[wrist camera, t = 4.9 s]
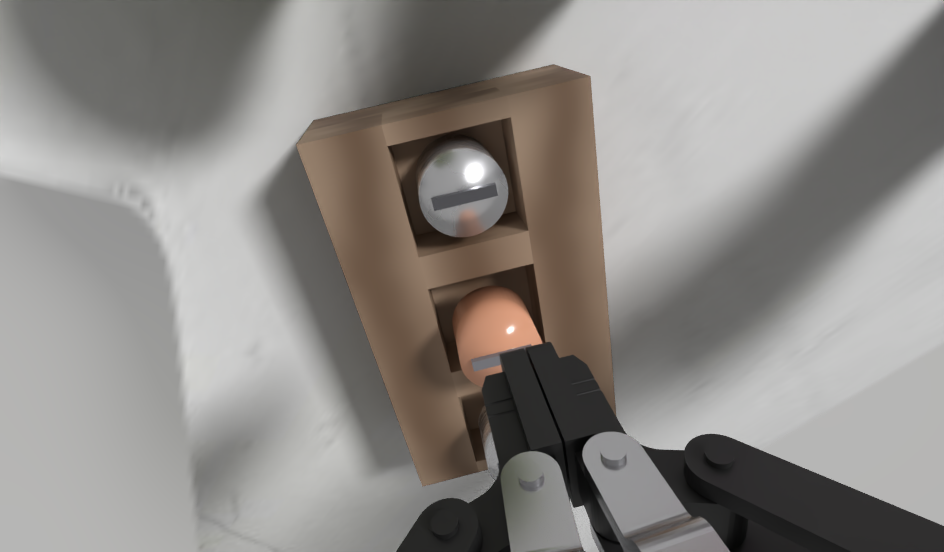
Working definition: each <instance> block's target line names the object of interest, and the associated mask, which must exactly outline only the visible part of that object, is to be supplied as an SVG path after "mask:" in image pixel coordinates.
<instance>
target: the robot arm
mask: <svg viewBox="0 0 944 552" xmlns="http://www.w3.org/2000/svg"><path fill="white" fill-rule="evenodd" d="M499 357H500V362H501V367H502V372H500V373H496V374H492V375H488V376H486V377H485V380H484V384H483V387H482V394H483V399H484V403H485V407H486V412H487V416H488V420H489V425H490V429H491V433H492V437H493V441H494V445H495V450H496V454H497V458H498V462H499V473H498V476H497V479H496V481H495V482H494V484H493V485H492V487H491V488H490V489H489V490H488V491H487V492H486V493H484V494H483V495H481V496H480V497H478V498H477V499H475V500H473V501H472V502H470V503H467V502H465V501H463V500H460V499H455V498H447V499H442V500H439V501H437V502H435V503H433V504H431V505H430V506H429V507H427V508H426V509H425V510H424V511H423V512H422V514H421V515H420V516H419V518H418V519H417V521H416V522H415V524H414V525H413V527H412V528H411V530H410V531H409V533H408V534H407V536H406V537H405V539H404V541H403V542H402V544H401V545H400V547H399V548H398V550H397V551H396V552H585V551H584V550H583V547H582V544H581V541H580V537H579V533H578V530H577V526H576V523H575V519H574V515H573V512H572V508H571V504H570V499H571V502H572V505H573V507H574V508H575V507H579V506H583V505H584V507H585V509H586V512H587V514H588V517H589V520H590V529H591V534H592V537H593V539H594V541H595V543H596V546H597V548H598V550H599V552H944V526H942V525H940V524H937V523H935V522H933V521H930V520H928V519H925V518H923V517H921V516H918V515H916V514H913V513H911V512H908V511H906V510H903V509H901V508H899V507H896V506H894V505H891V504H889V503H887V502H884V501H882V500H879V499H877V498H874V497H872V496H870V495H867V494H865V493H863V492H860V491H858V490H855V489H853V488H851V487H848V486H846V485H843V484H841V483H838V482H836V481H834V480H831V479H829V478H826V477H824V476H821V475H819V474H817V473H814V472H812V471H809V470H807V469H805V468H802V467H800V466H797V465H795V464H792V463H790V462H788V461H785V460H783V459H781V458H778V457H776V456H773V455H771V454H768V453H766V452H764V451H761V450H759V449H756V448H754V447H752V446H749V445H747V444H744V443H742V442H740V441H737V440H735V439H732V438H730V437H727V436H723V435H718V434H705V435H700V436H697V437H695V438H693V439H692V440H691V441H689V443H688V444H687V445H686V447H685V451H684V450H659V449H653V448H649V447H645V446H643V445H641V444H639V442H638V441H636V440H635V439H634V438H632V437H631V436H629V435H627V434H626V433H625V431H624V430H623V428H622V426H621V424H620V423H619V421H618V419H617V417H616V416H615V414H614V412H613V410H612V408H611V407H610V405H609V403H608V401H607V399H606V398H605V396H604V394H603V392H602V391H601V390H600V387H599V385H598V383H597V382H596V380H595V379H594V376H593V374H592V373H591V371H590V369H589V367H588V366H587V364H586V363H584V362H583V361H581V360H580V359H579V358H577V357H576V356H574V355H570V356H566V357H561V358H559V357H558V355H557V353H556V351H555V349H554V347H553V345H552V343H551V342H546V343H542V344H538V345H534V346H529V347H526V348H525V349H524V348H522V349H518V350H513V351H509V352H505V353H501V354H499Z"/></svg>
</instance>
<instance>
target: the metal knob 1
mask: <svg viewBox="0 0 944 552" xmlns="http://www.w3.org/2000/svg"><path fill="white" fill-rule="evenodd" d="M416 183H417V190H418V196H419V202H420V207H421V210H422V212H423V214H424V216H425V218H426V219H427V221H428V222H429V223H430V224H431V225H432V226H433V227H434V228H435V229H437V230H438V231H440V232H442V233H444V234H446V235H449V236H454V237H470V236H474V235H478V234H480V233H482V232H484V231H486V230H488V229H489V228H490V227H492V226H493V225H494V224H495V223H496V222H497V221H498V220H499V218H500V217H501V215H502V214H503V212H504V210H505V207H506V204H507V200H508V184H507V180H506V178H505V175H504V173H503V171H502V170H501V168H500V167H499V165H498V164H497V163H496V161H495V160H494V158H493V157H492V156H491V154H490V153H489V151H488V150H487V149H486V147H485V146H484V145H483V144H481V143H480V142H479V141H477V140H476V139H474V138H472V137H469V136H466V135H459V134H452V135H447V136H443V137H441V138H438V139H436V140H435V141H433V142H432V143H431V144H429V145H428V146H427V147H426V148H425V149H424V151H423V152H422V154H421V156H420V157H419V160H418V162H417V166H416Z"/></svg>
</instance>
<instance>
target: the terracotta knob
mask: <svg viewBox="0 0 944 552" xmlns="http://www.w3.org/2000/svg"><path fill="white" fill-rule="evenodd" d="M452 325H453V330H454V335H455V340H456V345H457V350H458V355H459V360H460V365H461V369H462V371H463V373H464V375H465V376H466V377H467V378H468V379H469V380H470V381H471V382H472V383H474V384H476V385H478V386H480V387H483V384H484V380H485V377H486V376H488V375H492V374H496V373H500V372H502V367H501V362H500V357H499V354H501V353H505V352H509V351H513V350H518V349H522V348H524V349H525V348H526V347H529V346H534V345H538V344H542V341H541V338H540V336H539V334H538V332H537V330H536V327H535V325H534V323H533V321H532V319H531V317H530V315H529V312H528V310H527V308H526V306H525V304H524V302H523V300H522V299H521V297H520V296H519V295H518V294H517V293H515V292H514V291H512V290H510V289H508V288H505V287H502V286H485V287H481V288H478V289H476V290H473V291H472V292H470V293H468V294H467V295H466V296H464V297H463V298H462V299H461V300H460V302H459V303H458V304H457V306H456V308H455V310H454V313H453V318H452Z"/></svg>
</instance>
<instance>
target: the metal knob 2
mask: <svg viewBox="0 0 944 552" xmlns="http://www.w3.org/2000/svg"><path fill="white" fill-rule="evenodd" d="M478 424H479V429H480V434H481V438H482V443H483V447H484V452H485V457H486V461H487V466H488V470H489V473H490V475H491V476H492V477H493V478H494V479H495V480H496V479H497V476H498V473H499V462H498V458H497V454H496V450H495V445H494V441H493V437H492V433H491V429H490V425H489V420H488V416H487V412H486V407H485V406H484V407H483V408H482V410H481V412H480V414H479V418H478Z"/></svg>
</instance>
